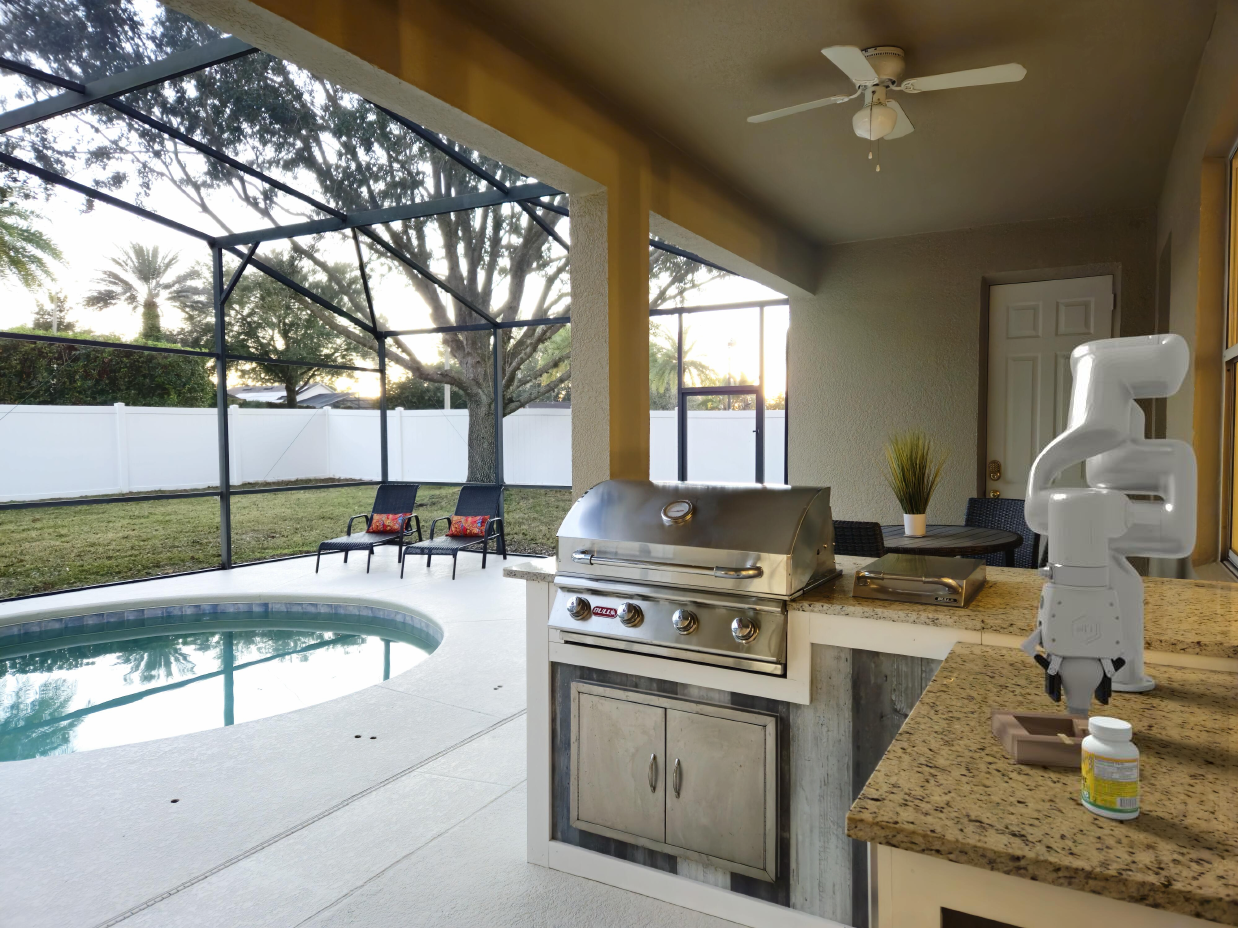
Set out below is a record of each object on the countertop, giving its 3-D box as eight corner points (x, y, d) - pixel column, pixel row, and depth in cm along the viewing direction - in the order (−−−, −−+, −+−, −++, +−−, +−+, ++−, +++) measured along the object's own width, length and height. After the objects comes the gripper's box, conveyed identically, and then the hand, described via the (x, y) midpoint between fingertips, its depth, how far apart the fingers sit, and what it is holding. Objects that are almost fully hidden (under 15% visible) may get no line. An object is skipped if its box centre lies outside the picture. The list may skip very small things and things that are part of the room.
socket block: (990, 730, 109) (990, 708, 109) (1087, 736, 107) (1087, 713, 107) (1018, 764, 97) (1018, 739, 97) (1128, 772, 94) (1128, 746, 94)
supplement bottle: (1135, 825, 81) (1135, 734, 81) (1077, 810, 84) (1077, 723, 84) (1142, 807, 85) (1142, 721, 85) (1086, 794, 88) (1086, 710, 88)
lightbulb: (1110, 732, 108) (1111, 654, 108) (1062, 729, 109) (1063, 652, 109) (1092, 718, 114) (1093, 644, 114) (1047, 715, 115) (1048, 642, 115)
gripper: (1021, 579, 110) (1022, 705, 110) (1156, 582, 106) (1156, 712, 106) (1006, 571, 117) (1006, 689, 117) (1131, 574, 113) (1131, 696, 114)
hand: (1077, 699), depth 112 cm, fingers closed on lightbulb, 5 cm apart
